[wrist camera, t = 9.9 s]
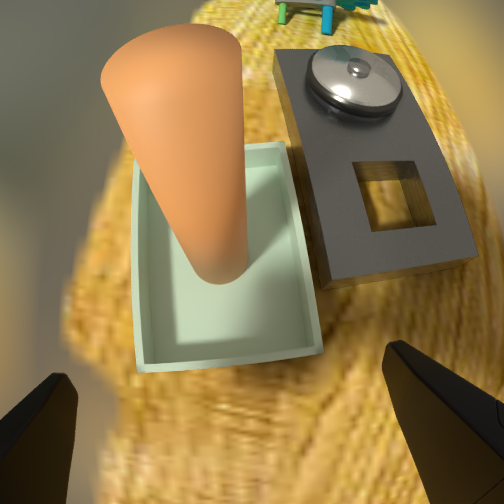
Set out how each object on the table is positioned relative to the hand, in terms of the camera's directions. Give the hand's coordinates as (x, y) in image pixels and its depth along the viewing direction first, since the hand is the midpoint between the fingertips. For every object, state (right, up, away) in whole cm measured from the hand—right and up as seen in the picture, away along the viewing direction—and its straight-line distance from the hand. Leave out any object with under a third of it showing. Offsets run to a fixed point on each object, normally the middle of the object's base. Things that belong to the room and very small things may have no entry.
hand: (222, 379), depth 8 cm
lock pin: (-1, +3, +10) cm, 11 cm away
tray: (-1, +3, +11) cm, 11 cm away
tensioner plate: (+9, +10, +13) cm, 19 cm away
